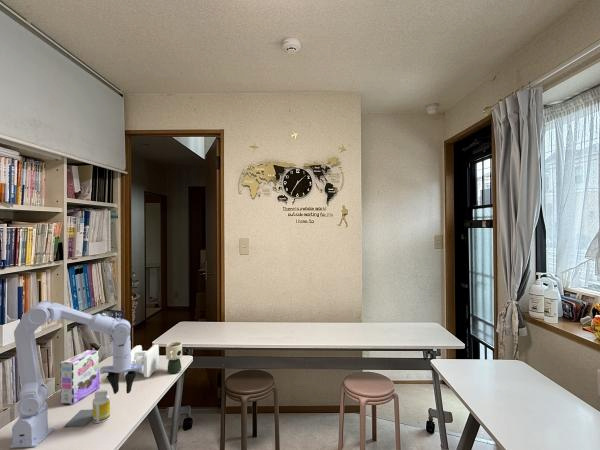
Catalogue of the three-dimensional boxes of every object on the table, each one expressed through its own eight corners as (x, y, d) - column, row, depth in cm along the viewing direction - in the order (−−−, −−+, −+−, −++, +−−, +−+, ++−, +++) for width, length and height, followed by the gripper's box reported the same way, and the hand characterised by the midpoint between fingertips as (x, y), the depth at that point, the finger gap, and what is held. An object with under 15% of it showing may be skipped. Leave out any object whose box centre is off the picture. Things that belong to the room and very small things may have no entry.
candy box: (72, 405, 134) (72, 363, 133) (60, 404, 135) (59, 362, 135) (100, 388, 147) (99, 350, 147) (88, 387, 148) (87, 349, 148)
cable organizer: (146, 381, 154) (146, 355, 154) (122, 381, 153) (122, 355, 153) (159, 366, 169) (159, 343, 169) (137, 367, 168) (137, 343, 168)
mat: (85, 426, 120) (85, 424, 120) (64, 427, 119) (64, 425, 119) (100, 410, 130) (100, 409, 130) (80, 411, 129) (80, 409, 129)
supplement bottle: (113, 414, 127) (112, 388, 127) (105, 423, 121) (104, 395, 121) (98, 415, 127) (97, 388, 127) (89, 423, 121) (89, 396, 121)
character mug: (178, 376, 158) (177, 348, 157) (162, 377, 157) (162, 348, 157) (185, 366, 168) (185, 340, 168) (170, 366, 168) (170, 340, 168)
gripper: (146, 349, 129) (147, 386, 129) (106, 351, 128) (107, 387, 128) (139, 357, 122) (139, 395, 122) (96, 358, 121) (97, 397, 121)
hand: (122, 392), depth 124 cm, fingers open, 4 cm apart
